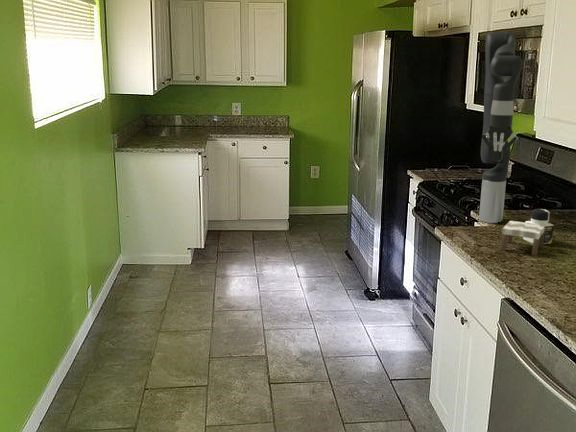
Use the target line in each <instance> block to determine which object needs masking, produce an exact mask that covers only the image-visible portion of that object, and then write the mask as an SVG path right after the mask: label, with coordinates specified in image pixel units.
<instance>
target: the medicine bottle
mask: <svg viewBox="0 0 576 432" xmlns="http://www.w3.org/2000/svg"><path fill="white" fill-rule="evenodd" d="M549 221H550V211H549V210H547V209H545V208H544V209H543V208H535V209H532V210H531V215H530V220H525V222H524V223H531V224H539V225H545V232H544V240H543V245H546V244H549V245H550V244H552V241H553V235H554V224H552V223H550V222H549ZM522 238H523V240H525V241H526V242H528V243H531V244H533V241H534V239H533V238H526V237H522Z"/></svg>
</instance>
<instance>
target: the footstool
mask: <svg viewBox="0 0 576 432" xmlns="http://www.w3.org/2000/svg"><path fill="white" fill-rule="evenodd" d="M544 232H545V225H539V224H531V223H525V222H523V221H516V220H509V221H508V222H507V223H506V224H505V225H504V226H503V227H502V231H501V241H500V251H502V252H506V251H507V244H508V243H509V244H512V243H513V240H514V237H521V238H523V237H526V238H533V239H534V241H533V243H532V251H531V256H535V257H537V256H538V252H539V251H538V250H539V248H540V249H542V248H543V247H544V244H543V240H544Z"/></svg>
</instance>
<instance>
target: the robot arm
mask: <svg viewBox="0 0 576 432" xmlns="http://www.w3.org/2000/svg"><path fill="white" fill-rule="evenodd" d="M516 44H517V43H516V36H515V34H514V33H513V32H510V31H509V32H508V31H502V32H501V31H500V32H489V33H487V35H486V37H485V47H484V48H485V49H484V52H485V78H484V79H485V81H484V93H483V95H484V96H483V125H482V135H481V144H480V159H481V162H482V163H484V164H496V166H494V167H492V168H491V169H488V170H485V171H483V173H482V179H481V180H482V181H481V182H482V183H481V191H480V202H479V203H480V205H479V213H478V214H479V215H478V221H481V222H483V223H487V224H498V222H500V223H501V221H502V222H503V216H504V215H503V214H504V207H505V197H506V185H507V176H508V171H509V164H510V158H511V149H512V146H513V144H514V143H516V142H517V141H518V140H519V136H516V135H515V134H514V132H513V128H512V127H513V119H514V107H515V106H514V100H515V90H516V85H517V82H518V80H519V77H520V75H521V72H522V69H523V64H524V63H523V59H522V58H521V56H519V55H516V54H515V53H516V46H517V45H516ZM503 77H510V78H509V79H508V80H507V81H505V80H504V79H503ZM508 140H510V141H508Z"/></svg>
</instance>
